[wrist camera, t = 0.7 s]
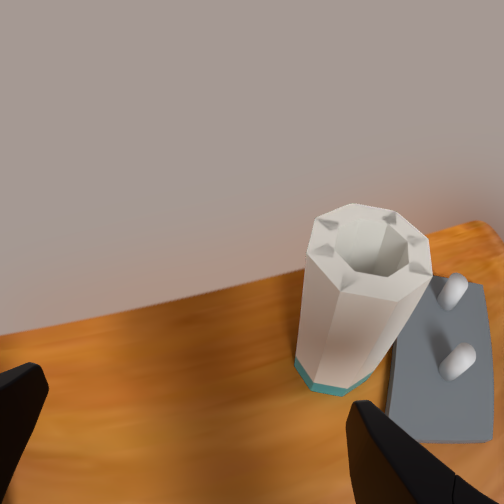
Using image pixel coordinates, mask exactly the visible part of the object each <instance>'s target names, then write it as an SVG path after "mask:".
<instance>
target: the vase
mask: <svg viewBox="0 0 504 504" xmlns="http://www.w3.org/2000/svg"><path fill="white" fill-rule="evenodd" d="M432 277H433V274H432V265H431V256H430V248H429V241H428V238H427V237H426V236H424V235H423V234H422V233H421V232H420V231H419V230H417V229H416V228H415V227H414V226H413V225H412V224H410V223H409V222H408V221H407V220H406V219H404V218H403V217H402V216H401V215H399V214H398V213H397V212H396V211H392V210H388V209H383V208H377V207H372V206H366V205H361V204H355V203H350V204H348V205H345V206H343V207H341V208H338V209H336V210H333V211H331V212H328V213H326V214H323V215H321V216H318V217H316V218H315V221H314V225H313V229H312V233H311V237H310V241H309V245H308V248H307V252H306V263H305V273H304V284H303V294H302V304H301V313H300V322H299V331H298V340H297V348H296V356H295V364H294V367H295V368H296V370H297V371H298V373H299V374H300V376H301V377H302V379H303V380H304V381H305V383H306V384H307V386H308V387H309V389H310V390H311V391H314V392H319V393H325V394H330V395H335V396H341V397H342V396H344V395H345V394H347V393H348V392H350V391H351V390H353V389H354V388H356V387H357V386H359V385H360V384H362V383H363V382H365V381H366V380H367V379H368V378H369V377H370V375H371V374H372V373H373V371H374V370H375V368H376V367H377V366H378V364H379V363H380V361H381V360H382V359H383V357H384V356H385V354H386V353H387V351H388V350H389V348H390V347H391V345H392V344H393V342H394V341H395V339H396V338H397V336H398V335H399V333H400V332H401V330H402V328H403V327H404V325H405V324H406V322H407V320H408V319H409V317H410V315H411V314H412V312H413V310H414V309H415V307H416V305H417V304H418V302H419V300H420V298H421V297H422V295H423V293H424V291H425V290H426V288H427V286H428V284H429V282H430V280H431V279H432Z"/></svg>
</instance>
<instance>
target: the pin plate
mask: <svg viewBox="0 0 504 504" xmlns="http://www.w3.org/2000/svg"><path fill="white" fill-rule="evenodd" d="M385 414H386V415H387V416H388V417H389V418H390V419H391V420H393V421H394V422H395V423H396V424H397V425H398V426H400V427H401V428H402V429H403V430H404V431H405V432H407V433H408V434H409V435H410V436H411V437H412V438H414V439H415V440H416V441H417V442H418V443H485V442H487V441H490V440H492V437H493V418H494V379H493V360H492V347H491V337H490V329H489V321H488V314H487V307H486V301H485V295H484V290H483V285H480V284H475V283H470V282H467V280H466V278H465V277H464V276H463V275H461V274H459V273H453V274H451V275H450V277H449V278H444V277H439V276H434V275H433V277H432V279H431V280H430V282H429V284H428V286H427V288H426V290H425V291H424V293H423V295H422V297H421V298H420V300H419V302H418V304H417V305H416V307H415V309H414V310H413V312H412V314H411V315H410V317H409V319H408V320H407V322H406V324H405V325H404V327H403V328H402V330H401V332H400V333H399V335H398V336H397V338H396V339H395V341H394V342H393V350H392V361H391V370H390V379H389V387H388V395H387V402H386V408H385Z"/></svg>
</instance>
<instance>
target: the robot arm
mask: <svg viewBox="0 0 504 504" xmlns="http://www.w3.org/2000/svg"><path fill="white" fill-rule="evenodd" d="M48 391H49V386H48V383H47V380H46V378H45V375H44V373H43V370H42V368H41V367H40V365H38V364H35V363H32V362H28V363H25V364H23V365H20V366H18V367H15V368H13V369H10V370H8V371H5V372H3V373H0V504H2V501H3V499H4V496H5V493H6V491H7V488H8V486H9V483H10V481H11V479H12V476H13V474H14V471H15V469H16V467H17V464H18V462H19V460H20V458H21V456H22V453H23V451H24V449H25V447H26V445H27V443H28V441H29V438H30V436H31V434H32V432H33V430H34V428H35V425H36V423H37V420H38V417H39V415H40V412H41V409H42V407H43V404H44V402H45V399H46V397H47V394H48ZM346 436H347V447H348V458H349V469H350V477H351V483H352V488H353V492H354V497H355V502H356V504H499V503H497V502H495V501H493V500H492V499H490V498H489V497H487V496H486V495H484V494H482V493H481V492H479V491H478V490H477V489H475V488H474V487H473V486H471V485H470V484H469V483H467V482H466V481H465V480H463V479H462V478H461V477H460V476H458V475H455V472H453V471H452V470H451V469H450V468H448V467H447V466H446V465H445V464H444V463H442V462H441V461H440V460H439V459H438V458H436V457H435V456H434V455H433V454H431V453H430V452H429V451H428V450H427V449H426V448H424V447H423V446H422V445H421V444H420V443H418V442H417V441H416V440H415V439H414V438H412V437H411V436H410V435H409V434H408V433H407V432H405V431H404V430H403V429H402V428H401V427H400V426H398V425H397V424H396V423H395V422H394V421H393V420H391V419H390V418H389V417H388V416H387V415H386V414H384V413H383V412H382V411H381V410H380V409H379V408H378V407H376V406H375V405H374V404H373V403H372V402H371V401H369V400H359V401H354V402H353V404H352V406H351V409H350V412H349V415H348V418H347V421H346Z"/></svg>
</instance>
